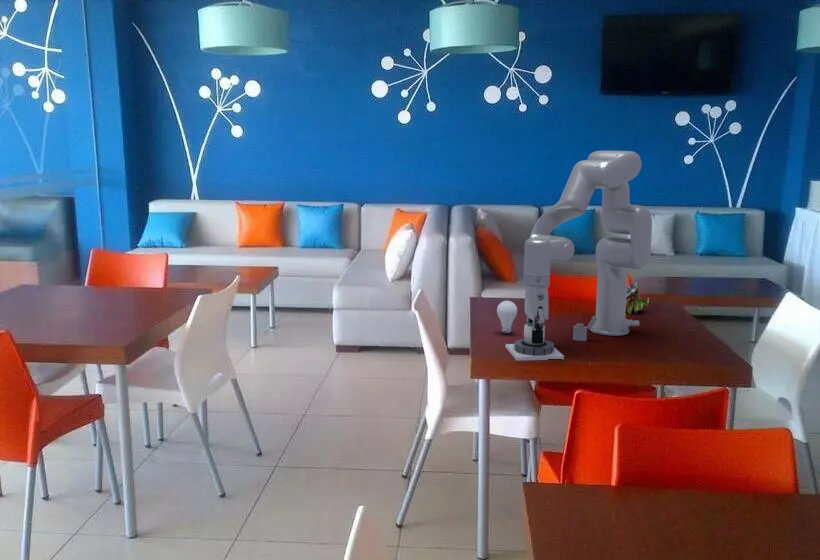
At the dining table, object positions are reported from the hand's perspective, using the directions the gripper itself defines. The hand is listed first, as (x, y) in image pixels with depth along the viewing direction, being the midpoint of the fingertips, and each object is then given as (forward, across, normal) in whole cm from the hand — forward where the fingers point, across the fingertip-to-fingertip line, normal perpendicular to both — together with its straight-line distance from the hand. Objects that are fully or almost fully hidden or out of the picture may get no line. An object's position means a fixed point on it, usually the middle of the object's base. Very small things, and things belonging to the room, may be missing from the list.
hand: (534, 339), depth 218 cm
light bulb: (+4, +23, +3) cm, 24 cm away
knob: (+1, 0, 0) cm, 1 cm away
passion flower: (+4, +52, -51) cm, 73 cm away
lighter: (+4, +13, -20) cm, 24 cm away
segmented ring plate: (+4, 0, 0) cm, 4 cm away
